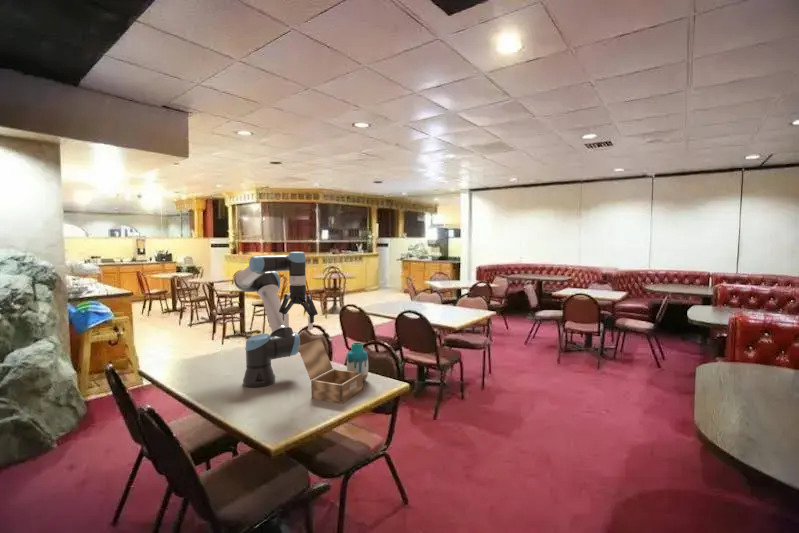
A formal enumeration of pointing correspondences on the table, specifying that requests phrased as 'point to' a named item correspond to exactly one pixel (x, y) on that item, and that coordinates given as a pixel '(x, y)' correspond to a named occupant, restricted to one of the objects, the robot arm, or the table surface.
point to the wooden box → (337, 385)
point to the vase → (358, 360)
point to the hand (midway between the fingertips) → (298, 328)
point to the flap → (315, 358)
